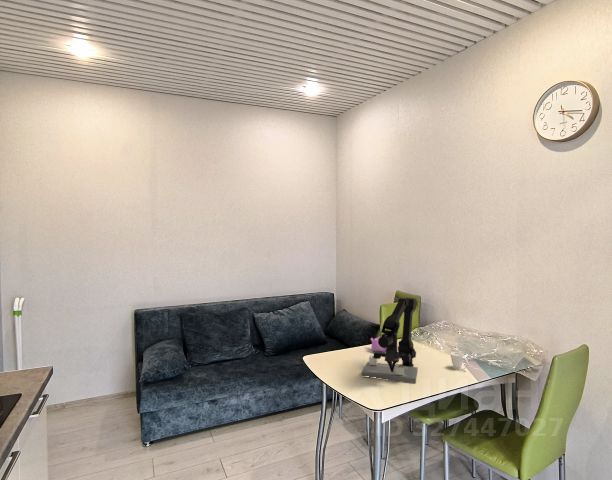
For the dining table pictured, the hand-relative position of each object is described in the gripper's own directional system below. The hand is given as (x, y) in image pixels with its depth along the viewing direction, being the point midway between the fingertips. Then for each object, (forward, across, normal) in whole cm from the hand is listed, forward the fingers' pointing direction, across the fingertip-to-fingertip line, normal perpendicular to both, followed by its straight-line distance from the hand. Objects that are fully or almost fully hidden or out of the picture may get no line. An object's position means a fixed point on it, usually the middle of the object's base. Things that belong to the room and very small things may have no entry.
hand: (392, 371), depth 196 cm
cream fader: (+1, -12, +10) cm, 15 cm away
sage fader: (+1, +4, 0) cm, 4 cm away
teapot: (+4, -14, +41) cm, 44 cm away
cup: (+4, +34, +25) cm, 42 cm away
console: (+4, -2, +5) cm, 6 cm away
